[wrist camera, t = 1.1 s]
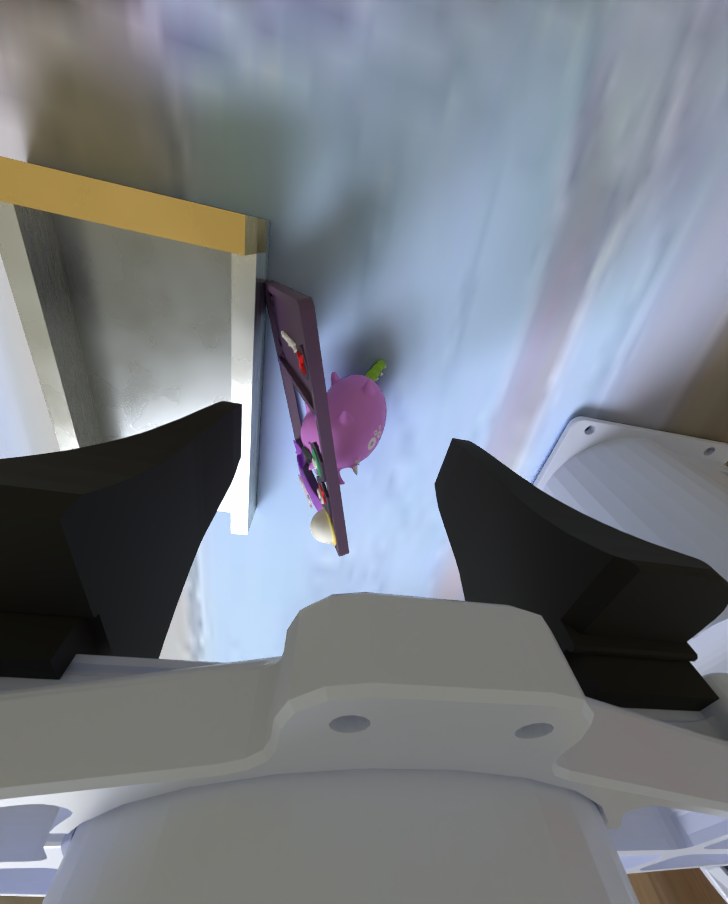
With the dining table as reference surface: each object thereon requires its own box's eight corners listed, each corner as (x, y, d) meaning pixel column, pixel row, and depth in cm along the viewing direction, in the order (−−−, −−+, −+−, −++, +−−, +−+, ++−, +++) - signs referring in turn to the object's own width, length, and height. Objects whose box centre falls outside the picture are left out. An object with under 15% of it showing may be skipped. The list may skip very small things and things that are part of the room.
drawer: (270, 220, 12) (245, 215, 9) (255, 509, 20) (239, 557, 17) (25, 162, 11) (-90, 134, 8) (105, 490, 18) (58, 538, 16)
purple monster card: (266, 304, 8) (321, 566, 13) (458, 278, 9) (442, 522, 14) (242, 283, 13) (287, 472, 18) (366, 269, 15) (377, 447, 19)
